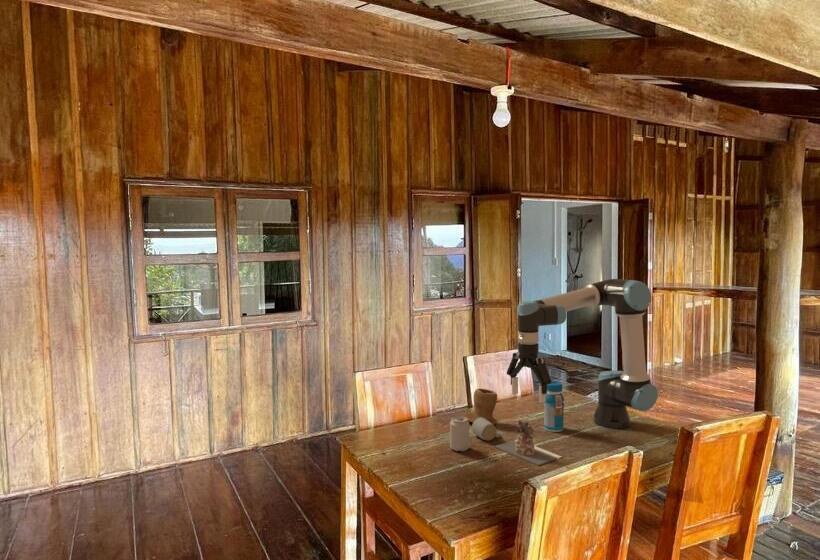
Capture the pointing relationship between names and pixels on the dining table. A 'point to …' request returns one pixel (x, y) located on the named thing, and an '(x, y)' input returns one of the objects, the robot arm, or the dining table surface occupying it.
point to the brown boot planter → (483, 406)
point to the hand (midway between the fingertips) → (528, 397)
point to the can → (459, 434)
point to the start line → (546, 452)
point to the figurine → (524, 439)
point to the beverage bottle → (554, 408)
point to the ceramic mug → (484, 429)
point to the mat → (536, 458)
